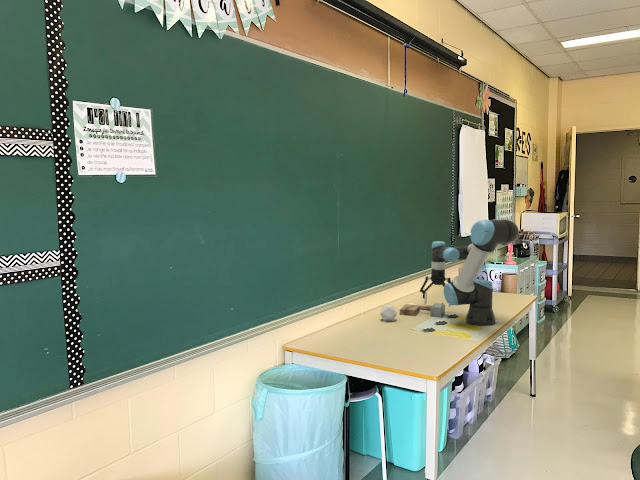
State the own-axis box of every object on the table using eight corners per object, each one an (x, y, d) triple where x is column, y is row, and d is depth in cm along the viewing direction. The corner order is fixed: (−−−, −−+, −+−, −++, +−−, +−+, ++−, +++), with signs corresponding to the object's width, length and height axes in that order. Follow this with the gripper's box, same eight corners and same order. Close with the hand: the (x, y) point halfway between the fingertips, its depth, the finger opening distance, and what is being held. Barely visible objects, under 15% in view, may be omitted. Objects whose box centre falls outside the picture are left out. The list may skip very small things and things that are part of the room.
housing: (444, 313, 290) (445, 303, 289) (441, 317, 281) (441, 306, 280) (434, 312, 293) (434, 302, 292) (430, 316, 284) (430, 305, 283)
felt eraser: (441, 311, 298) (441, 306, 297) (439, 312, 294) (439, 308, 294) (422, 308, 304) (422, 304, 304) (419, 310, 301) (419, 305, 301)
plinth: (419, 310, 297) (419, 305, 297) (415, 315, 285) (415, 310, 285) (404, 309, 300) (404, 304, 300) (399, 314, 288) (399, 309, 288)
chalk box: (419, 309, 302) (419, 303, 302) (417, 310, 299) (417, 305, 299) (406, 308, 306) (406, 302, 306) (404, 309, 303) (404, 303, 303)
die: (392, 324, 270) (401, 308, 272) (377, 315, 271) (386, 300, 273) (390, 326, 278) (398, 310, 280) (376, 317, 279) (384, 302, 281)
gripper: (461, 268, 283) (460, 305, 285) (417, 266, 292) (416, 302, 295) (460, 271, 276) (459, 308, 279) (414, 268, 286) (414, 304, 288)
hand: (437, 305), depth 287 cm, fingers open, 13 cm apart
